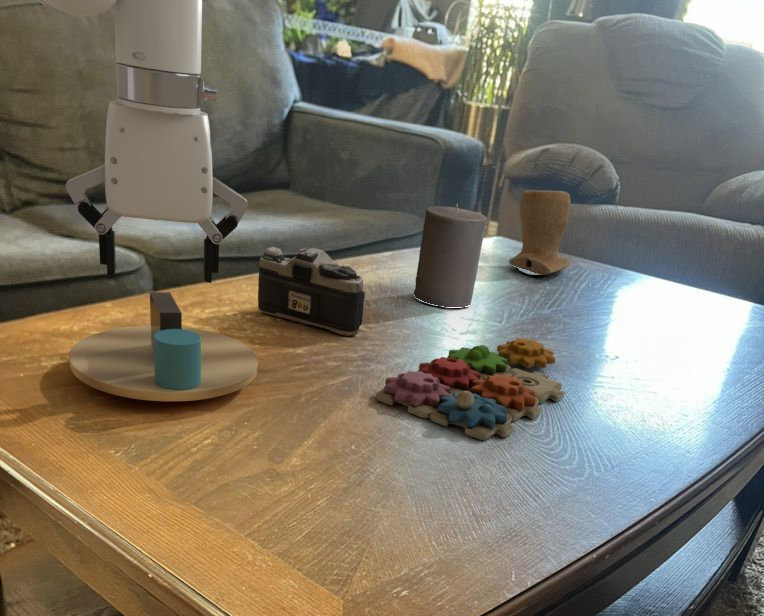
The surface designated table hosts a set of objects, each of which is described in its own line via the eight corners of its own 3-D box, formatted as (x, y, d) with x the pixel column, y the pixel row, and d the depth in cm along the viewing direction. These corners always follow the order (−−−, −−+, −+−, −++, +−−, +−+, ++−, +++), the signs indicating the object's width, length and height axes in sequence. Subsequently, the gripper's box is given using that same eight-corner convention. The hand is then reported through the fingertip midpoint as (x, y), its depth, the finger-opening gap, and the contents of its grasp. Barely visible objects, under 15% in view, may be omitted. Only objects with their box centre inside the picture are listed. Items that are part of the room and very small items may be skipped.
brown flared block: (521, 257, 162) (537, 180, 154) (575, 270, 157) (594, 192, 150) (491, 268, 151) (507, 186, 143) (548, 283, 146) (567, 198, 138)
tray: (63, 334, 90) (58, 273, 86) (234, 332, 98) (236, 276, 94) (77, 406, 75) (71, 336, 71) (278, 396, 82) (282, 333, 79)
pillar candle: (400, 294, 127) (413, 197, 120) (442, 289, 133) (457, 196, 125) (442, 312, 121) (458, 212, 114) (484, 306, 127) (502, 210, 120)
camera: (381, 323, 113) (389, 253, 108) (349, 340, 105) (357, 266, 100) (287, 298, 118) (291, 230, 113) (250, 313, 110) (252, 240, 104)
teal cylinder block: (151, 373, 81) (150, 329, 79) (196, 372, 83) (196, 328, 80) (158, 391, 78) (157, 345, 75) (204, 389, 79) (205, 344, 77)
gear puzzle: (491, 342, 112) (497, 314, 109) (597, 376, 105) (605, 347, 103) (368, 400, 88) (372, 366, 86) (493, 448, 82) (500, 413, 79)
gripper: (248, 100, 78) (240, 272, 86) (63, 75, 73) (74, 259, 82) (256, 108, 72) (247, 292, 80) (55, 80, 67) (68, 279, 76)
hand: (160, 275), depth 81 cm, fingers open, 9 cm apart
